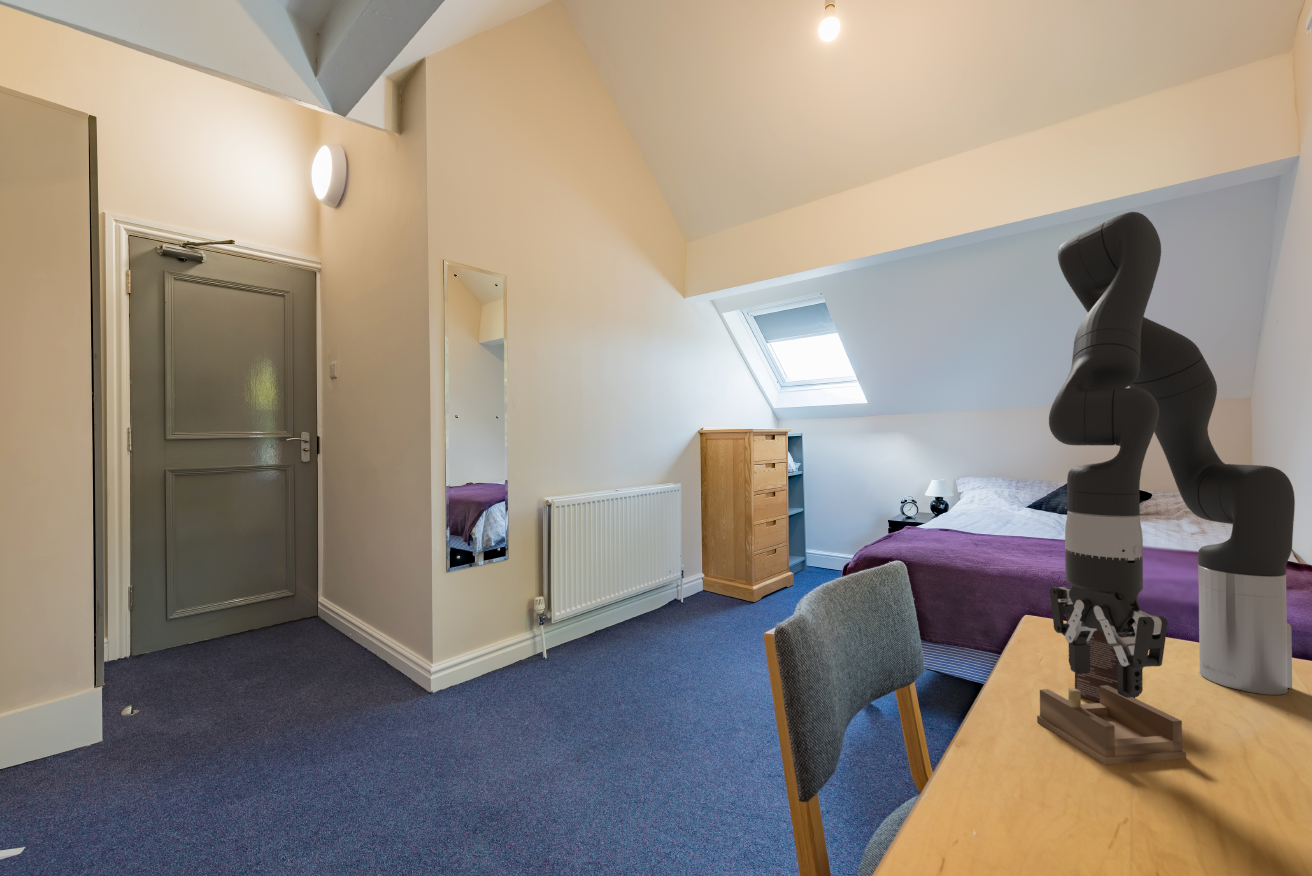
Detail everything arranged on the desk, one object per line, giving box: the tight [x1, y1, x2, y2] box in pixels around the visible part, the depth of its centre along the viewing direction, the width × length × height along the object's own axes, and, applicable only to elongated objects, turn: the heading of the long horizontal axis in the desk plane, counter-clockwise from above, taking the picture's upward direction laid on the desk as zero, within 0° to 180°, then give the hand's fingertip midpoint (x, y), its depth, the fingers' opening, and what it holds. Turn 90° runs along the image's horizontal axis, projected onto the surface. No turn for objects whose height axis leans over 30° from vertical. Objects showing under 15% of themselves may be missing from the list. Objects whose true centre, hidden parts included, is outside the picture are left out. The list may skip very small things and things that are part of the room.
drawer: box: [1036, 685, 1187, 766], centre depth 69 cm, size 10×10×6 cm
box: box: [1074, 630, 1136, 703], centre depth 79 cm, size 6×4×12 cm
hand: (1103, 683), depth 69 cm, fingers open, 6 cm apart
